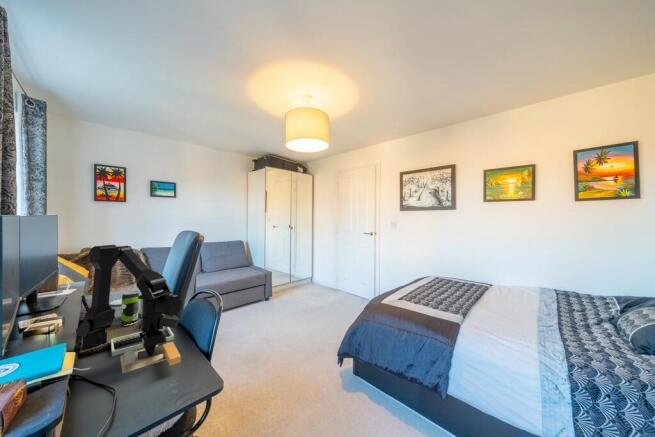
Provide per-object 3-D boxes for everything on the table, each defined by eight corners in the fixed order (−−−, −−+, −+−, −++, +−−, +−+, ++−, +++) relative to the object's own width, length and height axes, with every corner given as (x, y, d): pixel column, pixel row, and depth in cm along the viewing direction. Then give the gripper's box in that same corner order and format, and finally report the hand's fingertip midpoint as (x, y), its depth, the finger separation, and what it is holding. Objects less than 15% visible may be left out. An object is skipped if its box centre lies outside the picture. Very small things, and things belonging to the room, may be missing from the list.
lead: (124, 365, 82) (125, 356, 82) (124, 360, 84) (124, 352, 84) (172, 351, 92) (172, 343, 92) (170, 347, 94) (170, 339, 94)
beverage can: (136, 320, 119) (137, 289, 119) (138, 324, 115) (140, 292, 115) (119, 323, 114) (121, 292, 114) (121, 328, 110) (123, 295, 110)
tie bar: (169, 365, 78) (170, 359, 78) (162, 350, 87) (163, 344, 87) (180, 362, 80) (180, 356, 80) (172, 347, 89) (172, 341, 89)
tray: (111, 358, 87) (112, 351, 87) (110, 345, 96) (110, 338, 96) (174, 341, 100) (174, 335, 100) (167, 331, 109) (168, 325, 109)
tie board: (122, 376, 78) (122, 365, 78) (119, 358, 87) (120, 348, 87) (179, 358, 89) (179, 348, 89) (171, 344, 98) (172, 335, 98)
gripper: (183, 314, 87) (181, 357, 87) (172, 300, 101) (170, 337, 100) (144, 322, 79) (142, 370, 79) (138, 306, 93) (136, 346, 93)
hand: (150, 354), depth 88 cm, fingers closed on lead, 2 cm apart
